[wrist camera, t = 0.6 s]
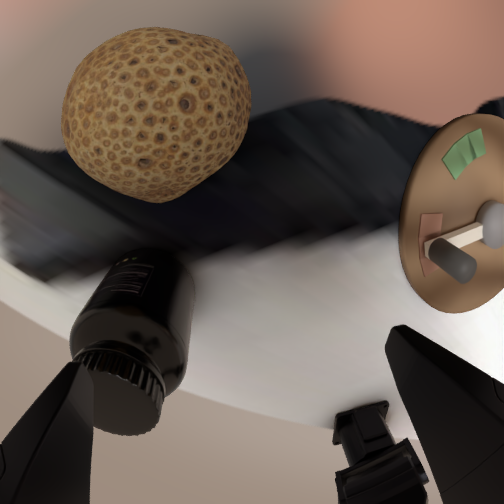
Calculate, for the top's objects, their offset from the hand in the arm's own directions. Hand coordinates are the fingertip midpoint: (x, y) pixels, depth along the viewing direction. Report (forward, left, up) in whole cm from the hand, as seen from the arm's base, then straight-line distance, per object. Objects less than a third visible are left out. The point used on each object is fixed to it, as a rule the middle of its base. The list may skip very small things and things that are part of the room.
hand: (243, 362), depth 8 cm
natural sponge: (+7, +3, -15) cm, 17 cm away
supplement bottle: (-5, +7, -15) cm, 17 cm away
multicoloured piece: (-3, -19, -13) cm, 23 cm away
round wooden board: (-3, -22, -15) cm, 27 cm away
